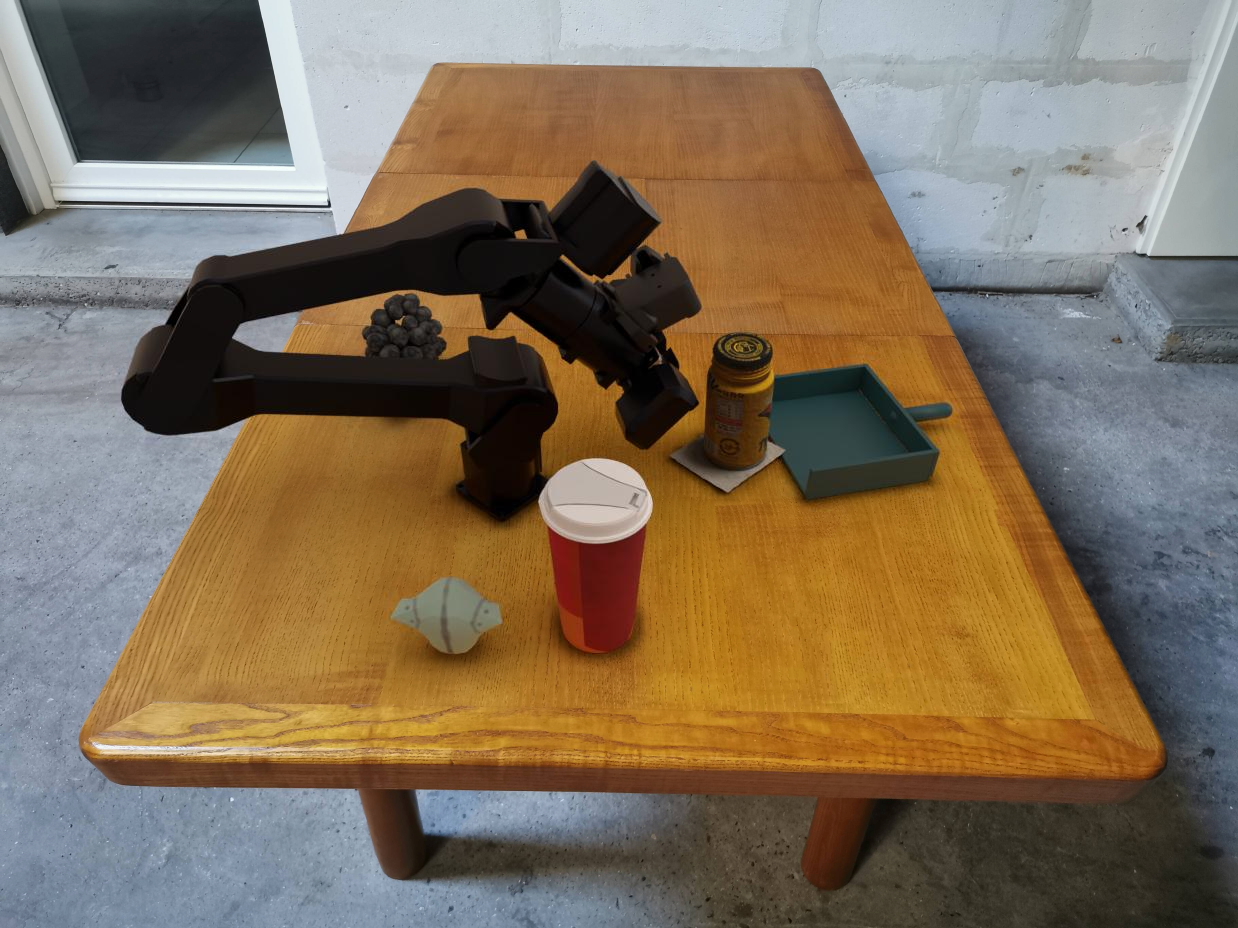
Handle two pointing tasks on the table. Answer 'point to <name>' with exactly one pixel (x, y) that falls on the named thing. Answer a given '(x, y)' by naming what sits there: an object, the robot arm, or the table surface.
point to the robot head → (449, 615)
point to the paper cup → (596, 549)
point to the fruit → (404, 330)
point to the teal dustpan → (849, 432)
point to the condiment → (735, 413)
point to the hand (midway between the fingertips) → (694, 405)
